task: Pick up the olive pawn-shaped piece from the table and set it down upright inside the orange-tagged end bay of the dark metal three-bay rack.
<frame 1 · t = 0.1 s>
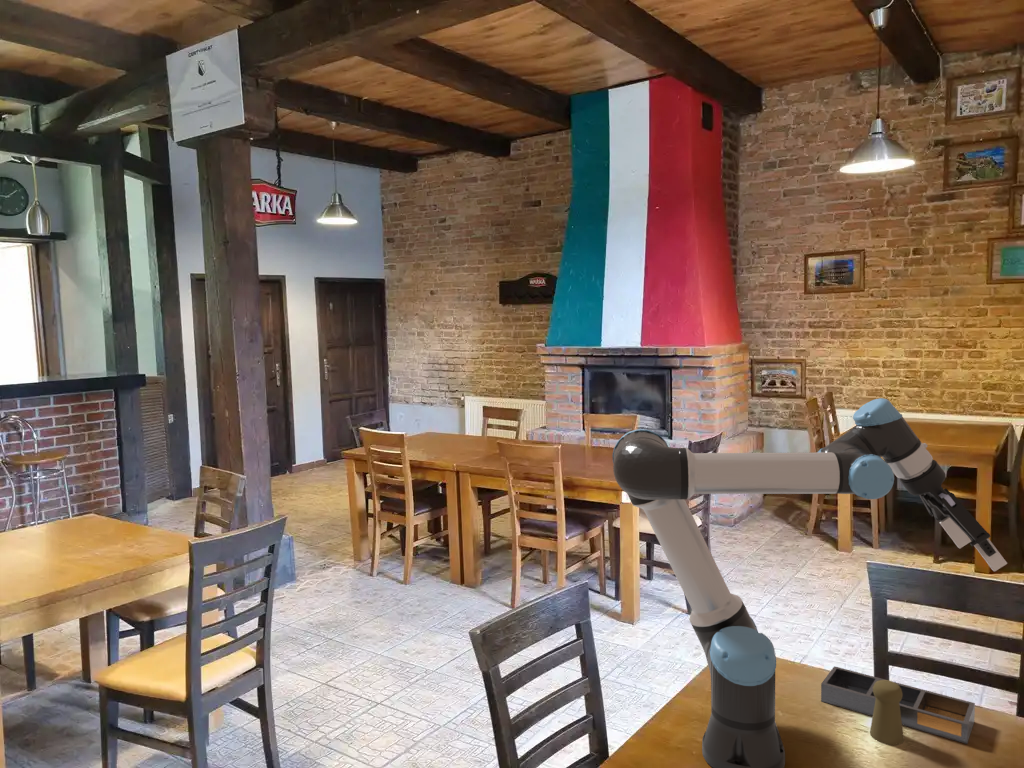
hand: (981, 555, 145), 36 cm above the table, tool tilted 35°, fingers open, 13 cm apart
olive pawn-shaped piece: (886, 737, 147), on the table
rack: (895, 711, 155), on the table
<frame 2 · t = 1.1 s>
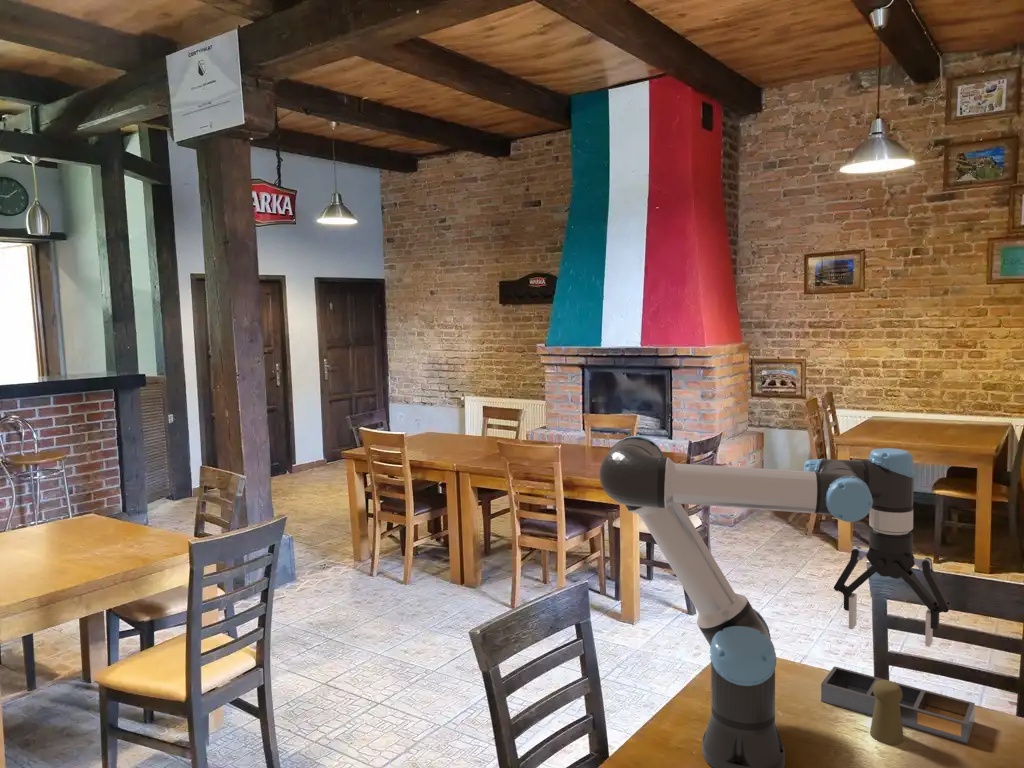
hand: (889, 635, 145), 21 cm above the table, tool pointing down, fingers open, 13 cm apart
nothing on the table moved.
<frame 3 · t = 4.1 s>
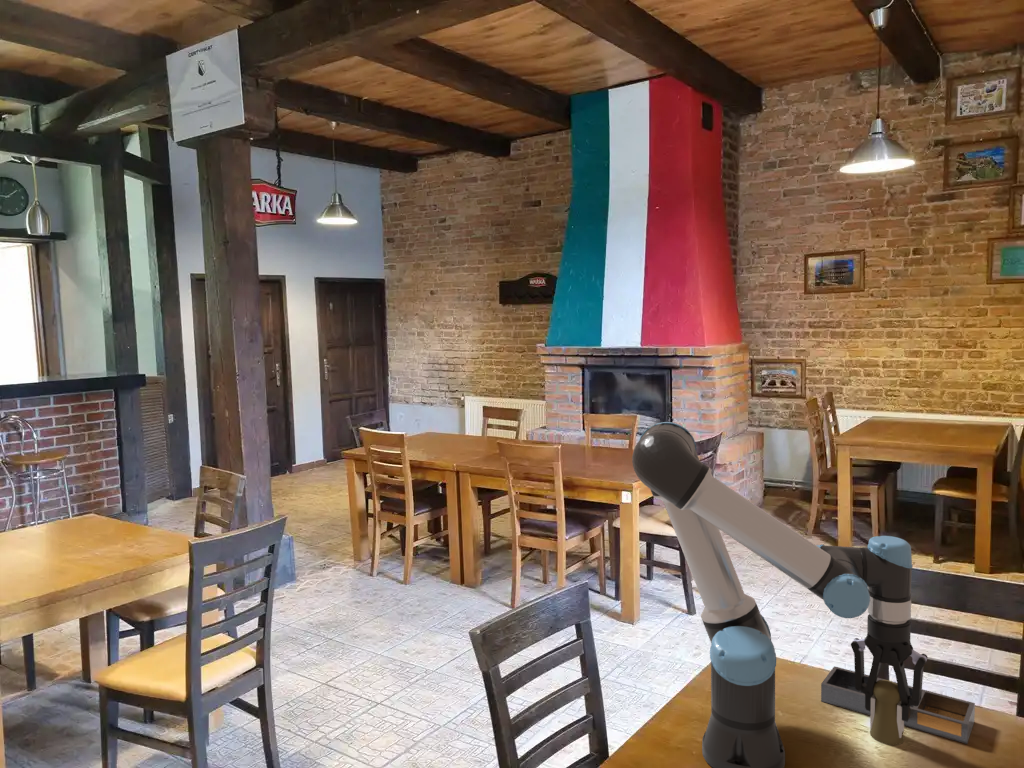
hand: (887, 730, 146), 1 cm above the table, tool pointing down, fingers closed on olive pawn-shaped piece, 4 cm apart
olive pawn-shaped piece: (886, 737, 147), on the table, touching gripper
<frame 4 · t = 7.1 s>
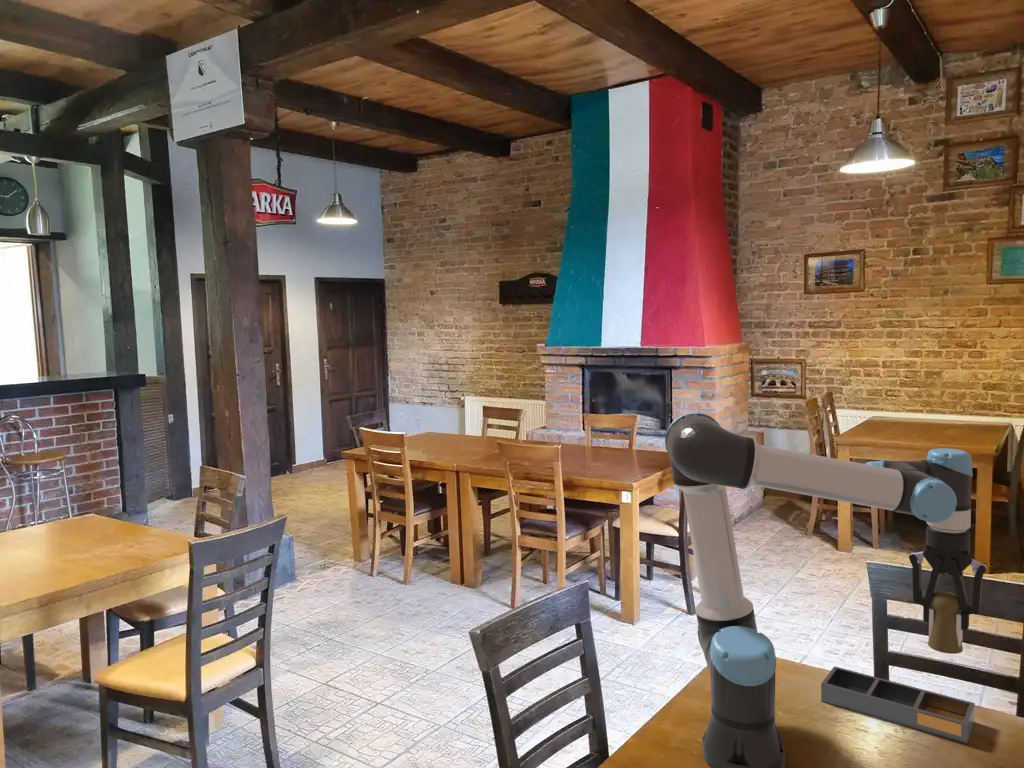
hand: (945, 640, 148), 18 cm above the table, tool pointing down, fingers closed on olive pawn-shaped piece, 4 cm apart
olive pawn-shaped piece: (945, 647, 148), point 16 cm above the table, touching gripper
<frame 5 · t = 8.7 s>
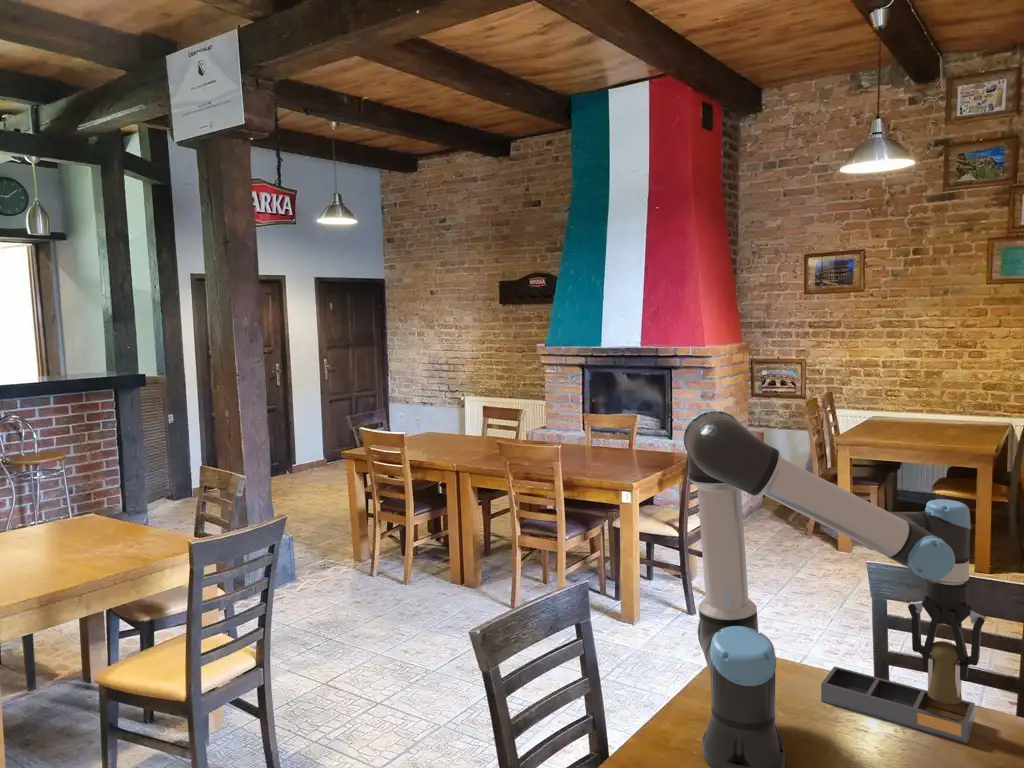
hand: (944, 690, 149), 7 cm above the table, tool pointing down, fingers closed on olive pawn-shaped piece, 4 cm apart
olive pawn-shaped piece: (944, 697, 149), point 6 cm above the table, touching gripper
when the fingers open (5 cm above the table, at t = 10.0 s): olive pawn-shaped piece drops 2 cm, resting on rack.
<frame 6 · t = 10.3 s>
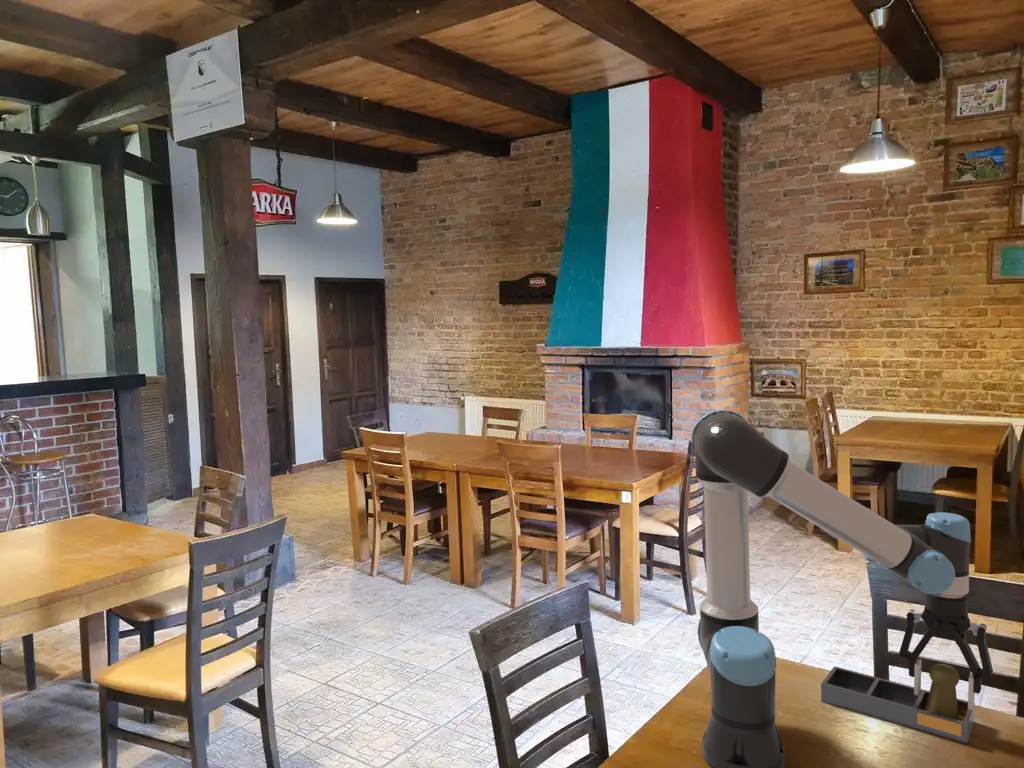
hand: (943, 699, 149), 5 cm above the table, tool pointing down, fingers open, 9 cm apart
olive pawn-shaped piece: (941, 719, 150), point 1 cm above the table, touching rack
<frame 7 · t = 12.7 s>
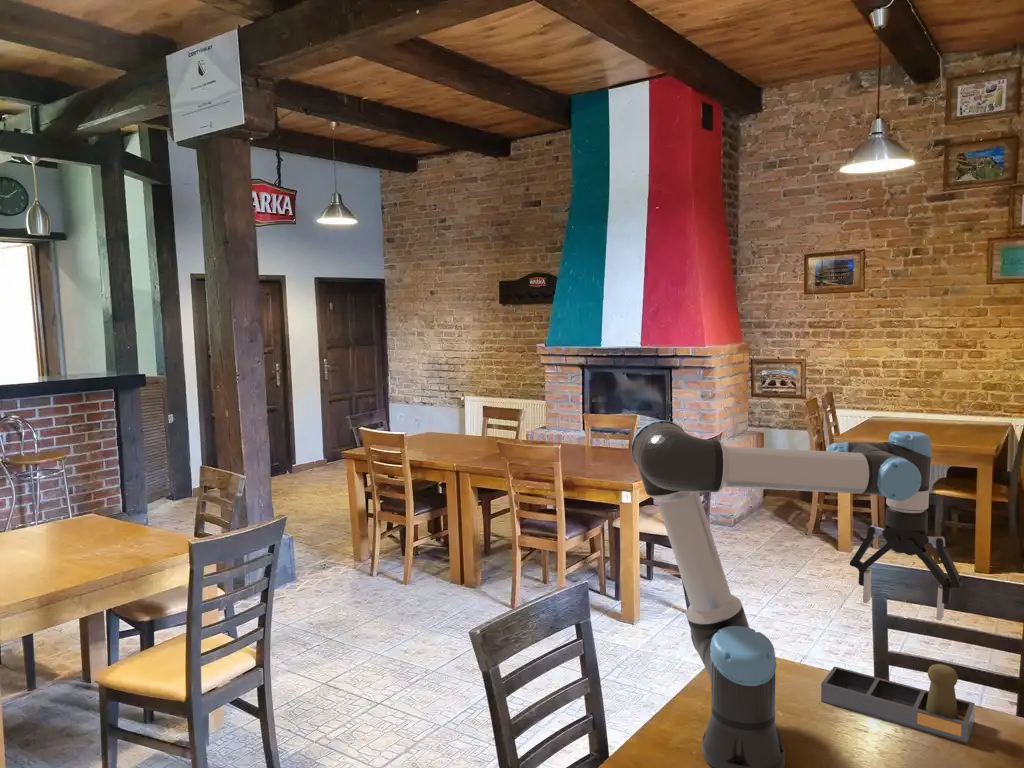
hand: (902, 609, 151), 23 cm above the table, tool pointing down, fingers open, 13 cm apart
nothing on the table moved.
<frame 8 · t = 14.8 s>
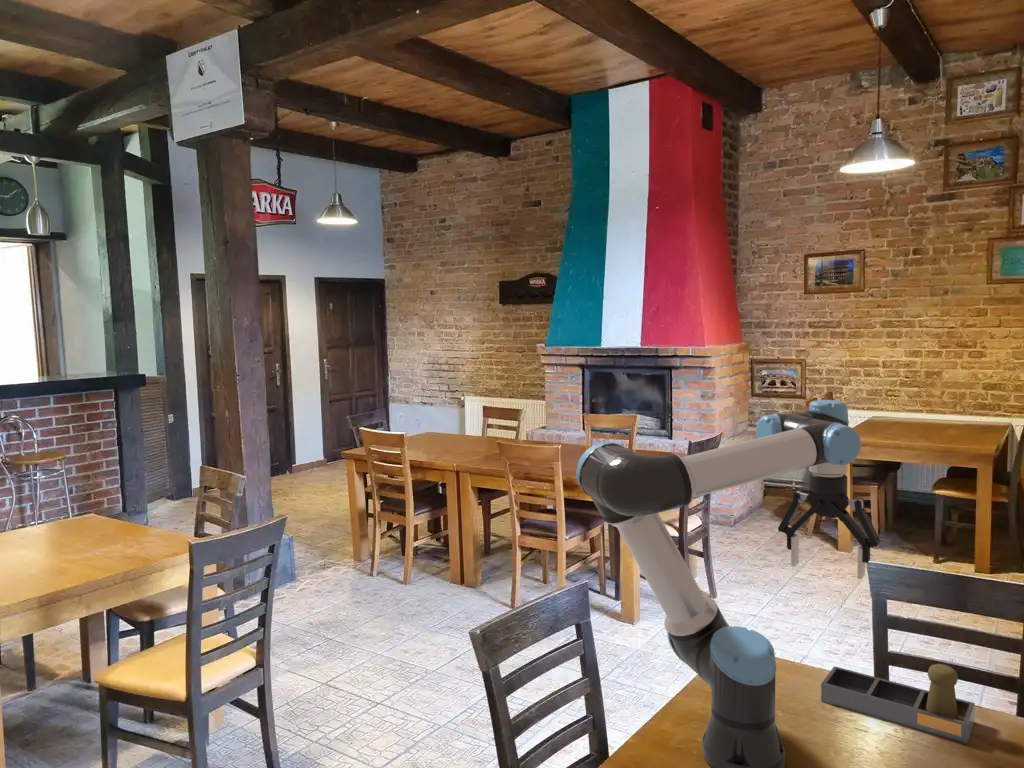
hand: (827, 570, 159), 29 cm above the table, tool pointing down, fingers open, 13 cm apart
nothing on the table moved.
at the end: olive pawn-shaped piece 0.3 cm from the target spot on the rack, point 0.9 cm above the rack's base; olive pawn-shaped piece tilted 0°; the gripper is holding nothing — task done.
